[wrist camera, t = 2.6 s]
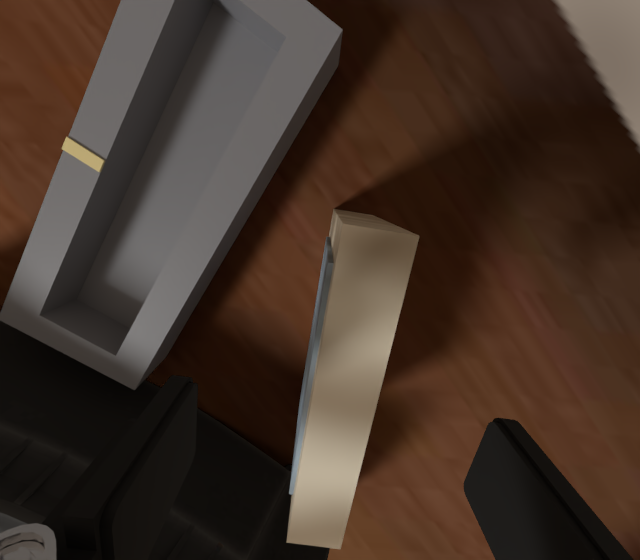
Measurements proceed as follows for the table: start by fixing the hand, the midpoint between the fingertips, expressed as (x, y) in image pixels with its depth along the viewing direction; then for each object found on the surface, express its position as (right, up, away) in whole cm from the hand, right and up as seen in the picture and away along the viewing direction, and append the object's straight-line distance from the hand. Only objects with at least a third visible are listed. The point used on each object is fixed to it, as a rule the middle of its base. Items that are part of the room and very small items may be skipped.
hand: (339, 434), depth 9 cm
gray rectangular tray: (-9, +10, +8) cm, 16 cm away
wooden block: (0, +2, +10) cm, 11 cm away
